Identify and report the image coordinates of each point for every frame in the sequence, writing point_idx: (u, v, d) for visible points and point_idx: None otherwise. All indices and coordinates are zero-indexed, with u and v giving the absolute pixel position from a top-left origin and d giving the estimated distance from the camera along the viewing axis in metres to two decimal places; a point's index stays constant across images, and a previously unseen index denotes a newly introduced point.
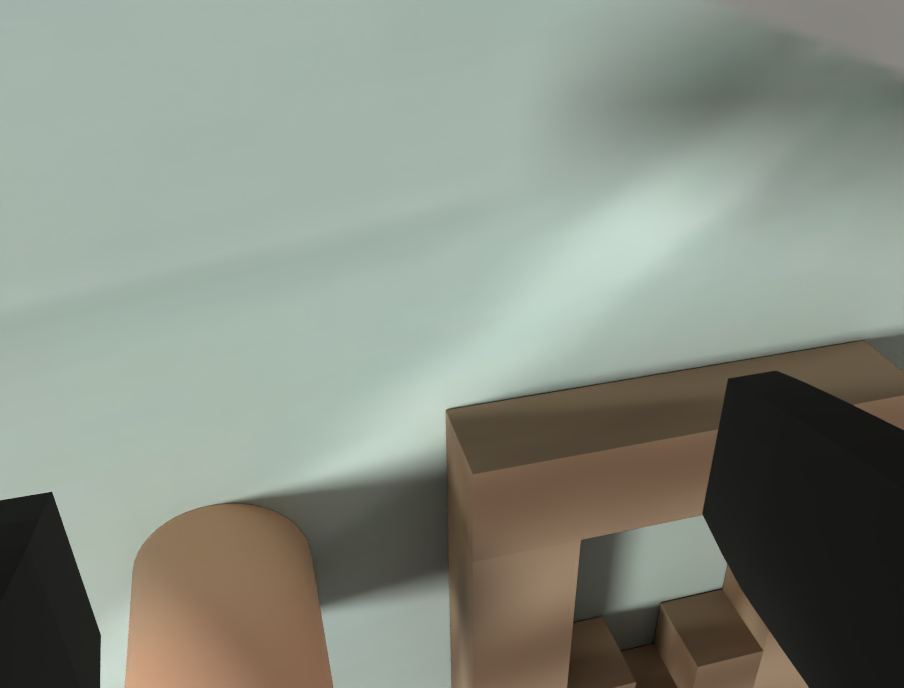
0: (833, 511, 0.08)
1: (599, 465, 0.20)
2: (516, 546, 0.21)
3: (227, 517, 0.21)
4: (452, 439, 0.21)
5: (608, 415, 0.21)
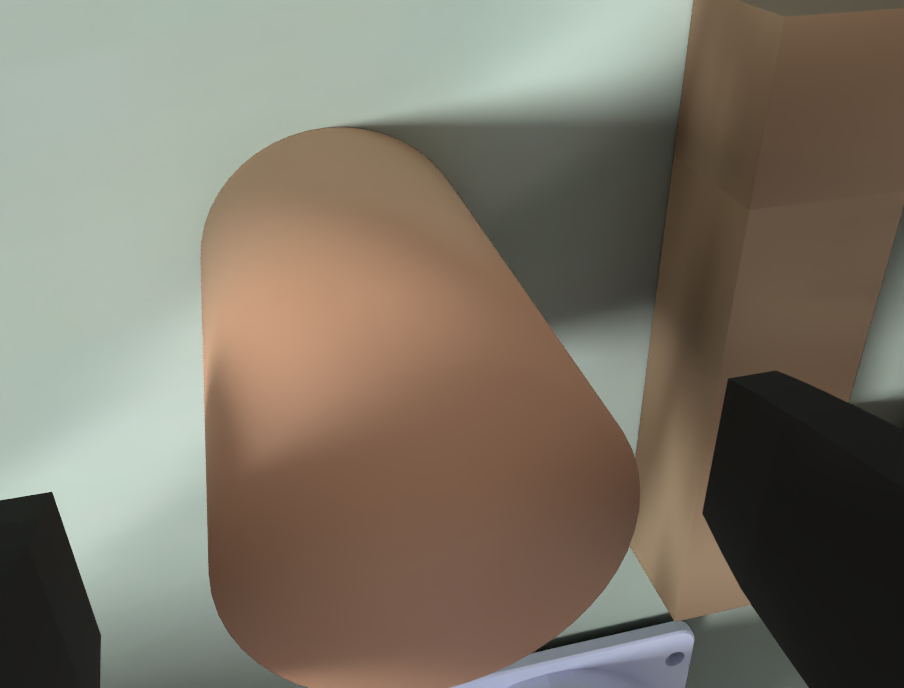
0: (833, 510, 0.08)
1: None
2: (816, 188, 0.13)
3: (357, 137, 0.13)
4: (711, 22, 0.13)
5: None
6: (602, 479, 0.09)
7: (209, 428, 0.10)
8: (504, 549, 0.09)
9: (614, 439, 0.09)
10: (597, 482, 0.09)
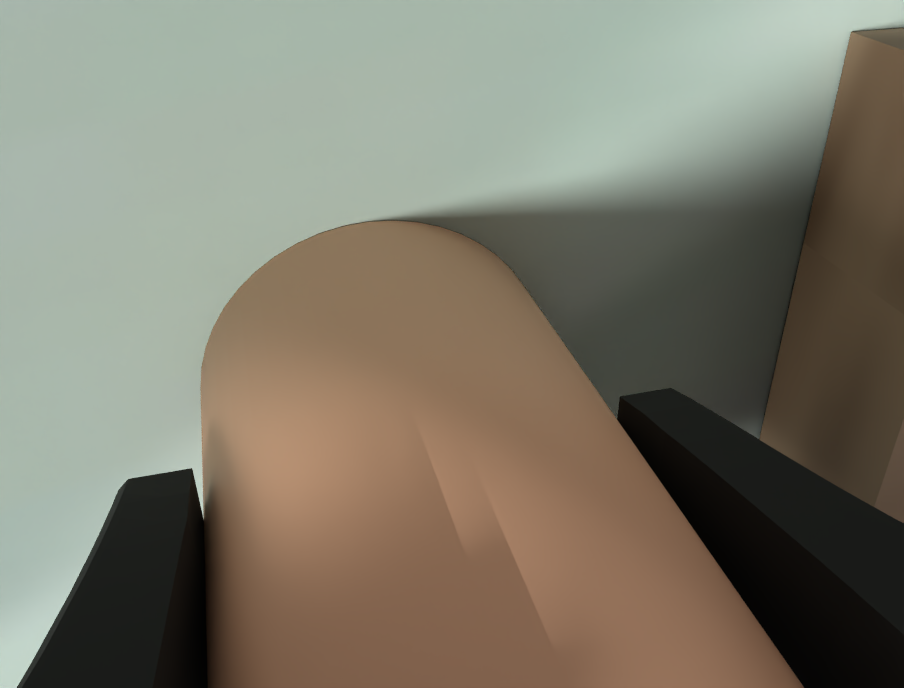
0: (709, 536, 0.08)
1: None
2: None
3: (409, 238, 0.10)
4: (877, 82, 0.10)
5: None
6: None
7: None
8: None
9: None
10: None
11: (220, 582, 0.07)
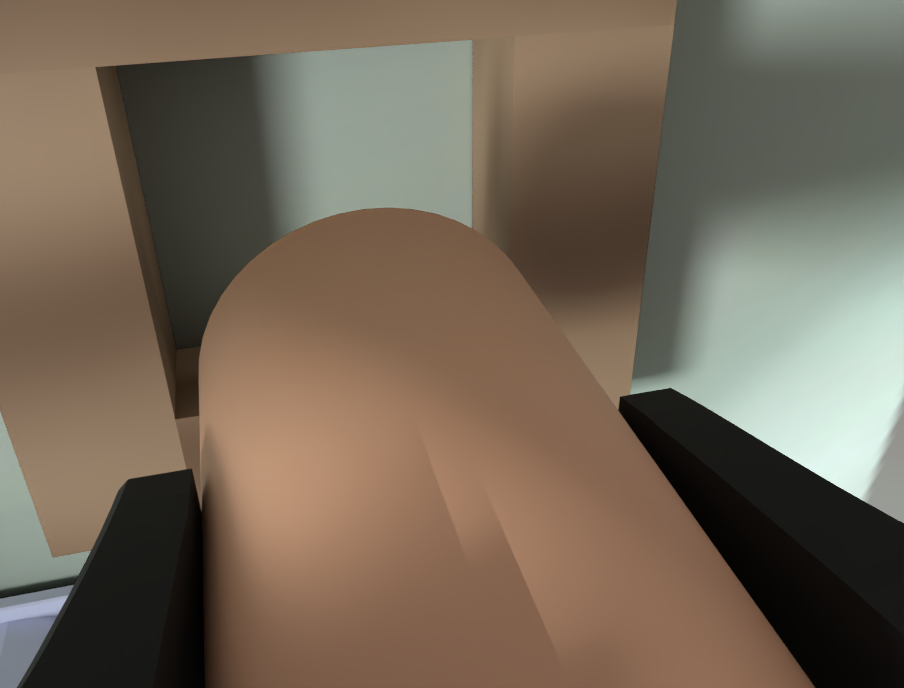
0: (709, 536, 0.08)
1: None
2: None
3: (403, 224, 0.10)
4: None
5: None
6: None
7: None
8: None
9: None
10: None
11: (215, 565, 0.07)
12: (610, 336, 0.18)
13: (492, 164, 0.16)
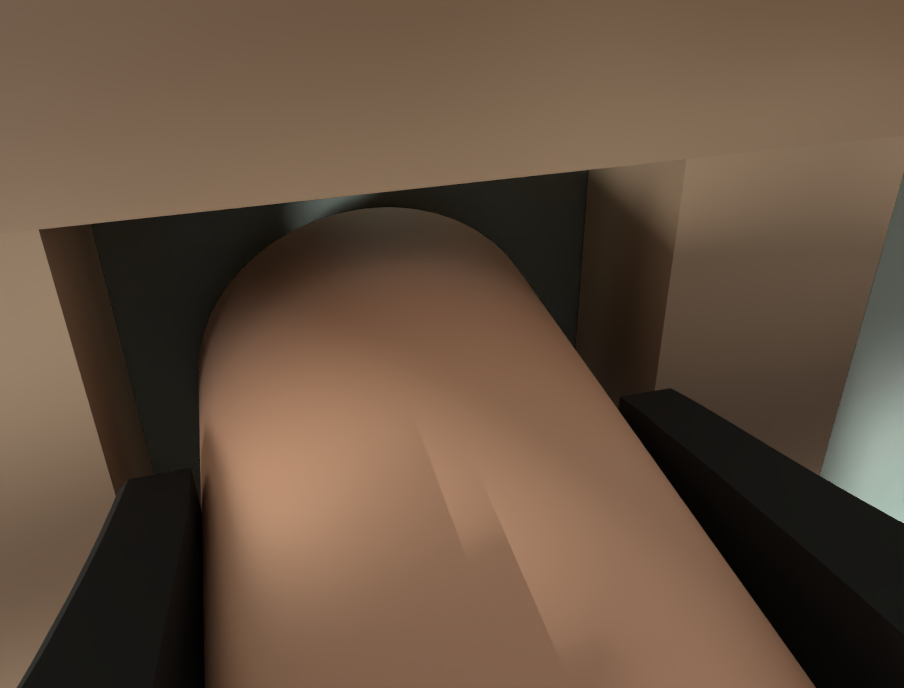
0: (709, 537, 0.08)
1: None
2: None
3: (403, 223, 0.10)
4: None
5: None
6: None
7: None
8: None
9: None
10: None
11: (215, 565, 0.07)
12: None
13: (619, 315, 0.11)
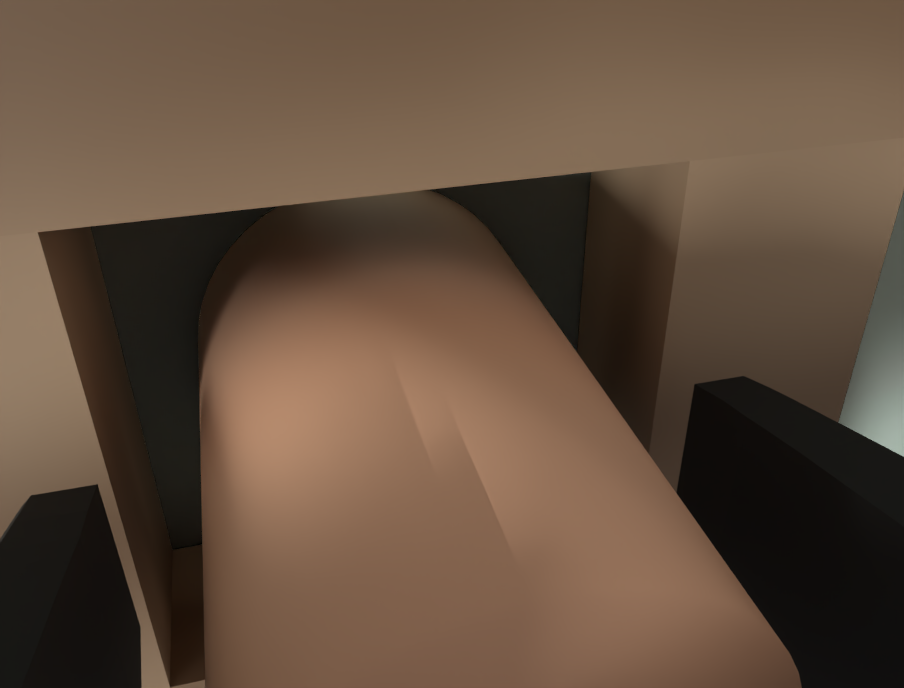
0: (795, 518, 0.08)
1: None
2: None
3: (389, 195, 0.11)
4: None
5: None
6: None
7: (209, 626, 0.07)
8: None
9: (777, 663, 0.06)
10: None
11: (213, 494, 0.08)
12: None
13: (622, 318, 0.11)
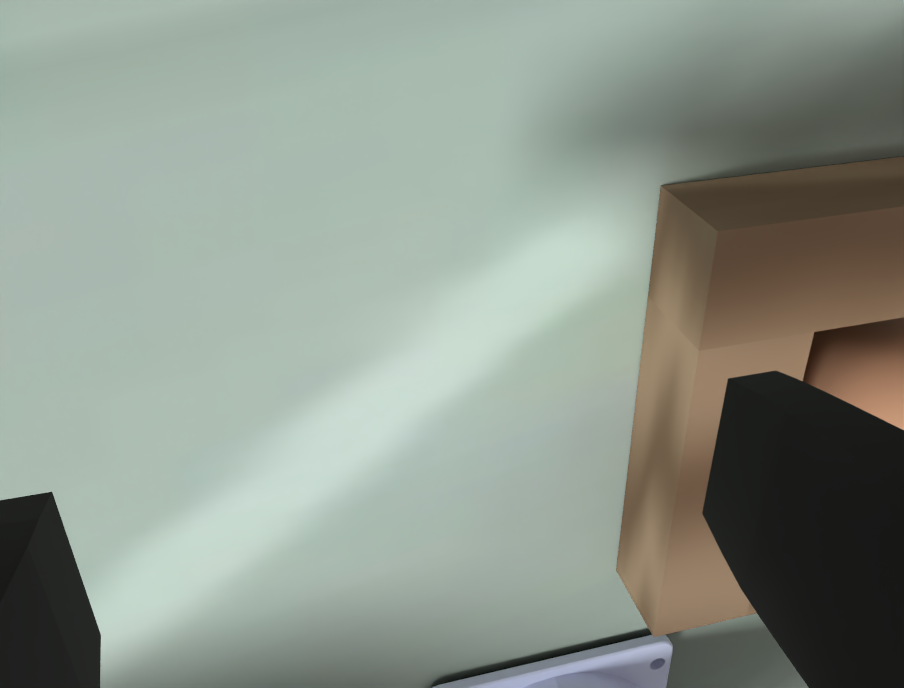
0: (834, 511, 0.08)
1: (849, 233, 0.18)
2: (746, 334, 0.19)
3: None
4: (672, 215, 0.19)
5: (847, 187, 0.19)
6: None
7: None
8: None
9: None
10: None
11: None
12: None
13: None
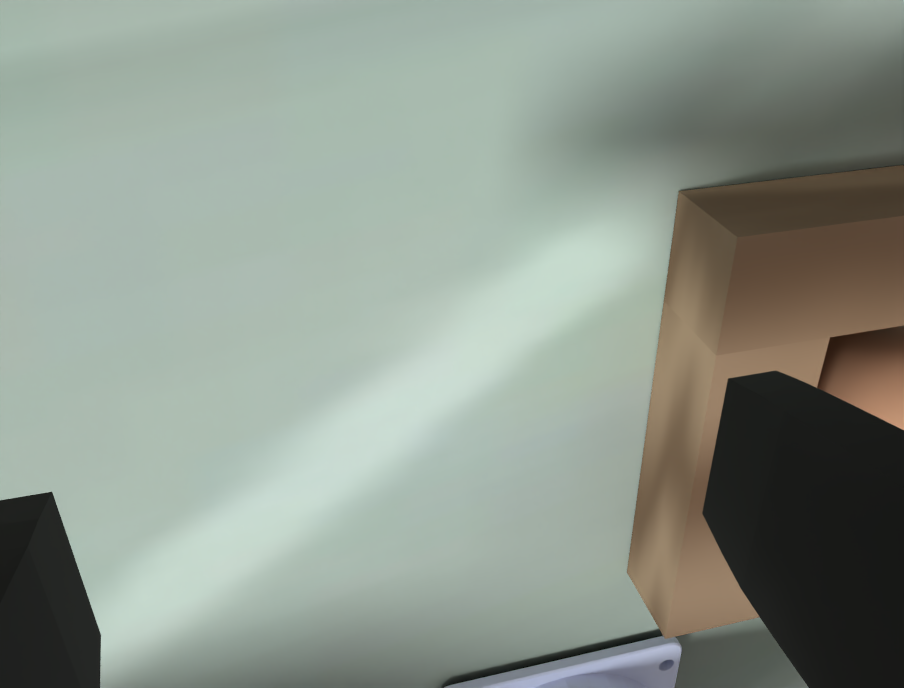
0: (834, 510, 0.08)
1: (866, 239, 0.18)
2: (763, 339, 0.19)
3: None
4: (690, 220, 0.19)
5: (864, 193, 0.19)
6: None
7: None
8: None
9: None
10: None
11: None
12: None
13: None
